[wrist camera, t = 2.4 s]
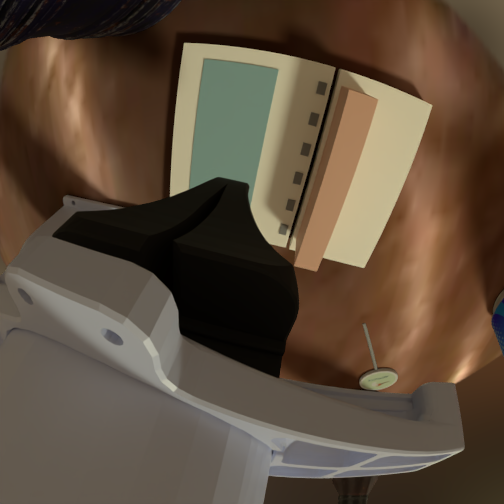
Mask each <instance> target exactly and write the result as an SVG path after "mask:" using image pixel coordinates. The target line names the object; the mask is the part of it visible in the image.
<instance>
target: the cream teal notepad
mask: <svg viewBox="0 0 504 504" xmlns="http://www.w3.org/2000/svg"><path fill="white" fill-rule="evenodd" d="M335 69H336V67H332V66H329V65H325V64H322V63H318V62H314V61H310V60H306V59H302V58H297V57H293V56H288V55H283V54H278V53H273V52H268V51H262V50H255V49H249V48H241V47H233V46H224V45H213V44H199V43H184V47H183V53H182V60H181V67H180V75H179V83H178V91H177V100H176V110H175V120H174V132H173V145H172V160H171V179H170V197H171V196H174V195H176V194H179V193H181V192H184V191H186V190H189V189H191V188H193V187H196V186H198V185H200V184H202V183H204V182H207V181H209V180H211V179H213V178H216V177H222V178H227V179H232V180H236V181H241V182H245V183H248V185H249V186H250V187H249V193H248V198H249V203H250V208H251V211H252V214H253V217H254V220H255V222H256V224H257V226H258V228H259V230H260V232H261V233H262V235H263V236H264V238H265V239H266V241H267V242H268V243H269V244H273V245H277V246H281V247H286V244H287V241H288V238H289V234H290V231H291V228H292V224H293V221H294V218H295V214H296V211H297V208H298V204H299V201H300V198H301V194H302V191H303V187H304V184H305V180H306V177H307V173H308V170H309V166H310V163H311V159H312V156H313V152H314V149H315V145H316V141H317V138H318V134H319V130H320V127H321V123H322V119H323V115H324V112H325V108H326V104H327V100H328V96H329V93H330V89H331V85H332V81H333V77H334V73H335Z"/></svg>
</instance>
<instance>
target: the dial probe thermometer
mask: <svg viewBox="0 0 504 504" xmlns="http://www.w3.org/2000/svg"><path fill="white" fill-rule="evenodd" d="M363 327H364V331H365V335H366V338H367V342H368V346H369V350H370V353H371V357H372V361H373V365H374V369H375V370H372V371H369V372H367V373H365V374H364V375H363V376H361V378H360V380H359V382H360V386H361V387H362V388H363V389H366V390H379V389H384V388H387V387H389V386H391V385H392V384H394V383H395V382H396V381H397V379H398V375H397V372H396V371H395V370H393V369H389V368H381V369H377V365H376V360H375V356H374V353H373V349H372V345H371V341H370V338H369V334H368V330H367V327H366V324H365V323H364V324H363Z"/></svg>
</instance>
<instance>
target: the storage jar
mask: <svg viewBox="0 0 504 504" xmlns="http://www.w3.org/2000/svg"><path fill="white" fill-rule="evenodd" d="M180 2H181V0H0V51H2V50H4V49H7V48H10V47H11V46H14V45H17V44H20V43H21V42H23V41H25V40H27V39H30V38H37V37H45V36H50V37H53V38H57V39H64V40H75V39H80V38H83V39H85V38H99V37H105V36H126V35H131V34H135V33H137V32H140V31H143V30H145V29H147V28H149V27H151V26H153V25H154V24H156V23H157V22H159V21H160V20H162V19H163V18H164V17H166V16H167V15H168V14H169V13H170V12H171V11H172V10H173V9H174V8H175V7H176V6H177V5H178V4H179V3H180Z"/></svg>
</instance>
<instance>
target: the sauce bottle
mask: <svg viewBox="0 0 504 504" xmlns="http://www.w3.org/2000/svg"><path fill="white" fill-rule="evenodd" d="M363 391H364V390H363ZM377 479H378V475H374V476H362V477H344V478H333V480H332V481H333V484H334V486H335V488H336V490H337V492H338V493H339V497H338V500H339V502H338V504H367V499H368V494H369V492H370V491H371V489H372V487H373V486H374V484H375V482H376V481H377Z"/></svg>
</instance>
